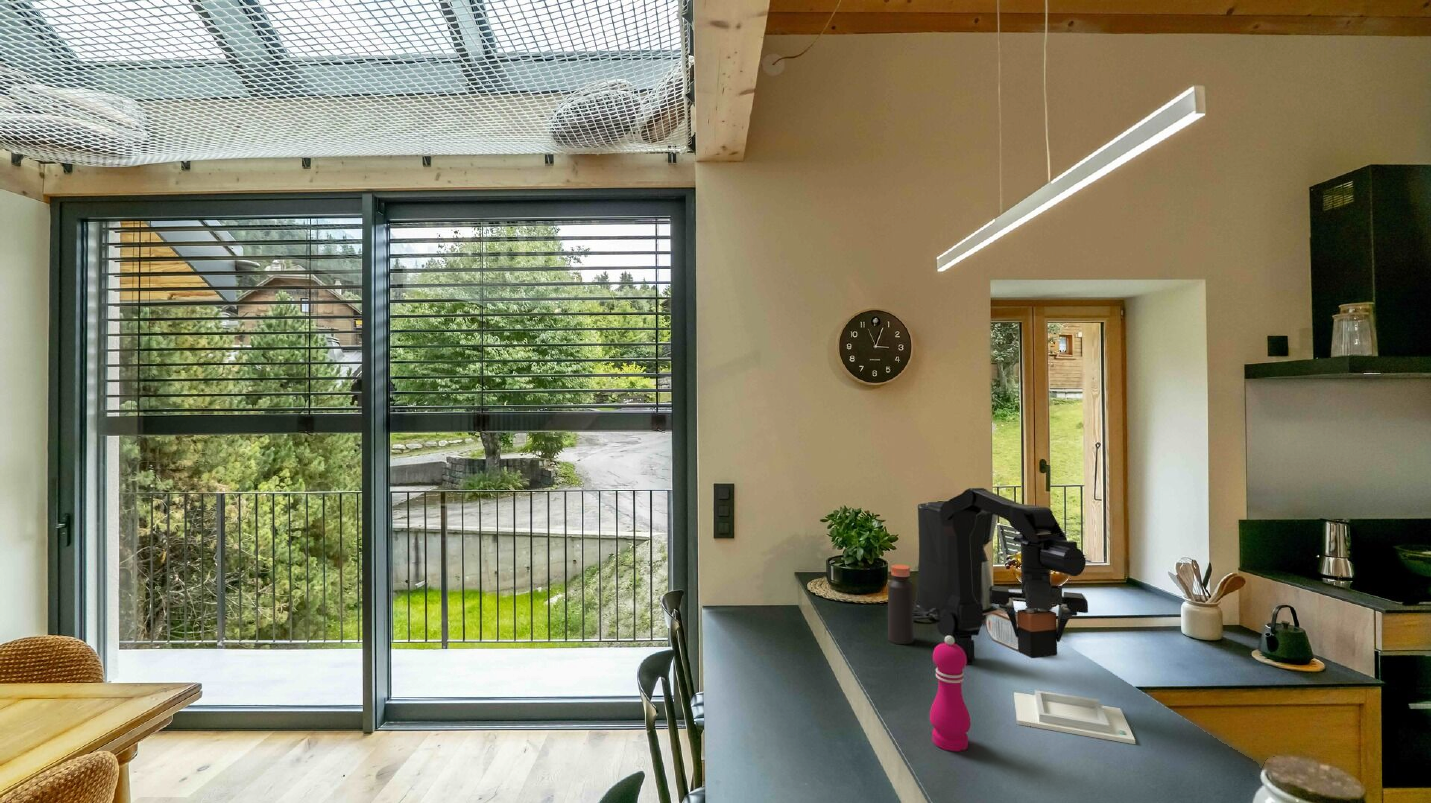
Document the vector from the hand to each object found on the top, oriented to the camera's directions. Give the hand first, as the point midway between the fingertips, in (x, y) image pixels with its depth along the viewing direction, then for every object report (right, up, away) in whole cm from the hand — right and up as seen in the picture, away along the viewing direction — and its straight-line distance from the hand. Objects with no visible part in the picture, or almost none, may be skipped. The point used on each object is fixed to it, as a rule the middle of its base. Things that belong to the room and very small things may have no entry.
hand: (1037, 639), depth 138 cm
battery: (0, -3, 0) cm, 3 cm away
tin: (+9, -15, +33) cm, 38 cm away
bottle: (-19, -14, +37) cm, 44 cm away
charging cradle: (+3, -13, -7) cm, 15 cm away
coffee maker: (+3, -15, +65) cm, 67 cm away
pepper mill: (-25, -13, -17) cm, 33 cm away
